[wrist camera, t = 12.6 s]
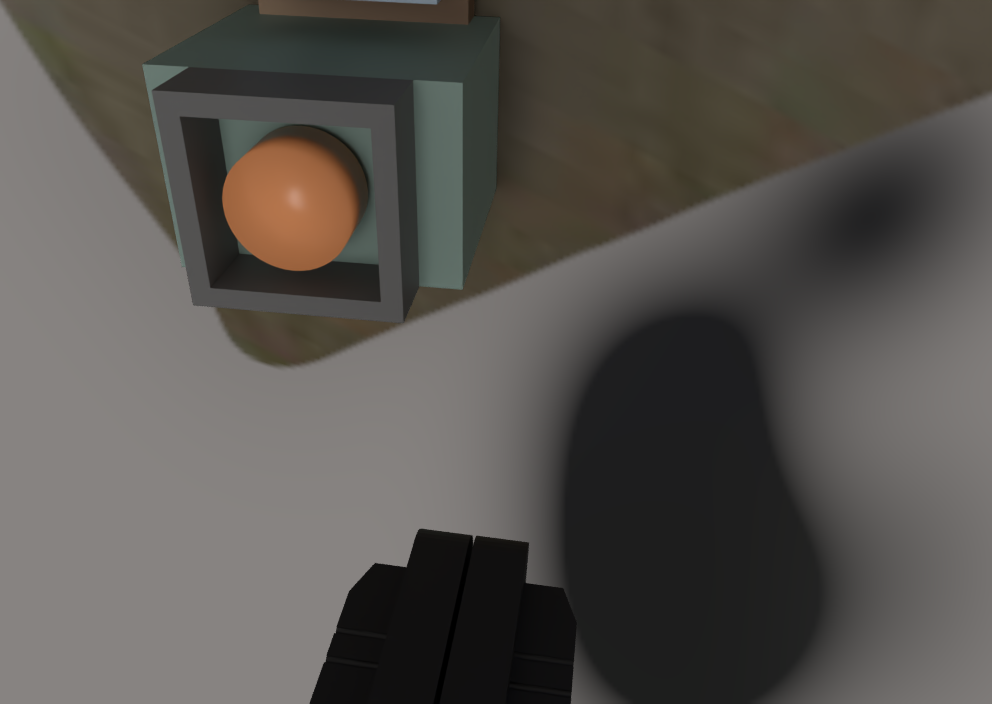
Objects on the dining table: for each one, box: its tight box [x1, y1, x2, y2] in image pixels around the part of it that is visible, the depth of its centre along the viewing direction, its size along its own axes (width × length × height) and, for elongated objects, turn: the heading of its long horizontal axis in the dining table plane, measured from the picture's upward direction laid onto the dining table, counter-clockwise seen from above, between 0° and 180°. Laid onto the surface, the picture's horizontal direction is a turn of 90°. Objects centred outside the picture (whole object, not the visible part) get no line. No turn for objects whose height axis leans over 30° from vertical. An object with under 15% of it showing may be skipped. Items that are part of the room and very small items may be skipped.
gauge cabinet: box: [142, 5, 500, 323], centre depth 31 cm, size 7×10×12 cm
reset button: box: [222, 126, 368, 271], centre depth 27 cm, size 4×4×2 cm
